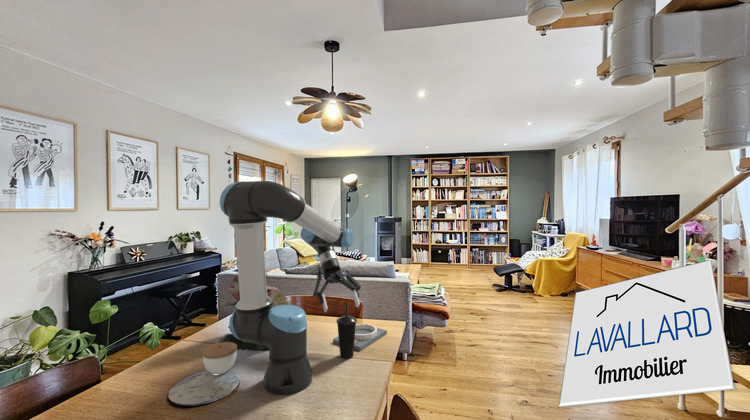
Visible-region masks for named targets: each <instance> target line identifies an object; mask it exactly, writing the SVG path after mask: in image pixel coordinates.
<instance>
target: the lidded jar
mask: <svg viewBox="0 0 750 420" xmlns="http://www.w3.org/2000/svg"><path fill="white" fill-rule="evenodd" d="M237 351H238V350H237V345H236V344H235V343H232V342H222V343H218V342H217V343H214V344H210V345H209V346H206V347H205V348H204V349H203V350H202V362H203V366H204V369H205V370H206V371H207V372H208V373H210V374H211V373H212V374H221V373H224V372H227V371H228V370H229V371H230V370H231V369H232V367H233V366H234V365H235V362H236V361H237V356H238V355H237V353H238V352H237ZM229 371H228V372H229ZM228 372H227V373H228ZM212 374H211V375H212Z"/></svg>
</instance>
